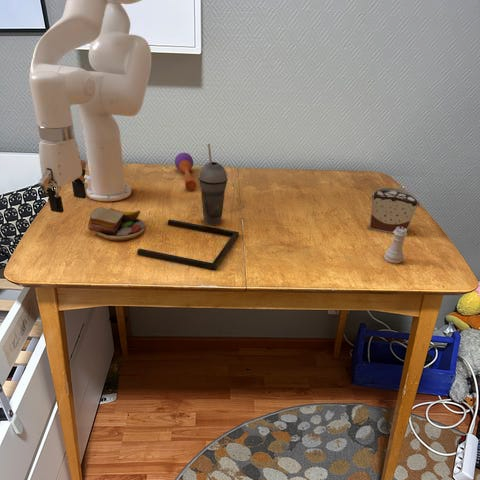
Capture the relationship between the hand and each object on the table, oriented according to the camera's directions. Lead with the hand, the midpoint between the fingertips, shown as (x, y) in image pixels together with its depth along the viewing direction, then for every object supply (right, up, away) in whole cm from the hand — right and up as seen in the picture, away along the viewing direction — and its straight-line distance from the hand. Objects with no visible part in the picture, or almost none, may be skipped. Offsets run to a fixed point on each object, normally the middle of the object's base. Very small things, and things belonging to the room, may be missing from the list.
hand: (69, 204), depth 116 cm
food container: (+83, -4, +10) cm, 83 cm away
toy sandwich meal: (+12, -7, +1) cm, 14 cm away
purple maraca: (+26, +16, +32) cm, 44 cm away
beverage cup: (+35, -3, +8) cm, 36 cm away
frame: (+30, -11, -3) cm, 32 cm away
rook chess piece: (+79, -15, -4) cm, 81 cm away
